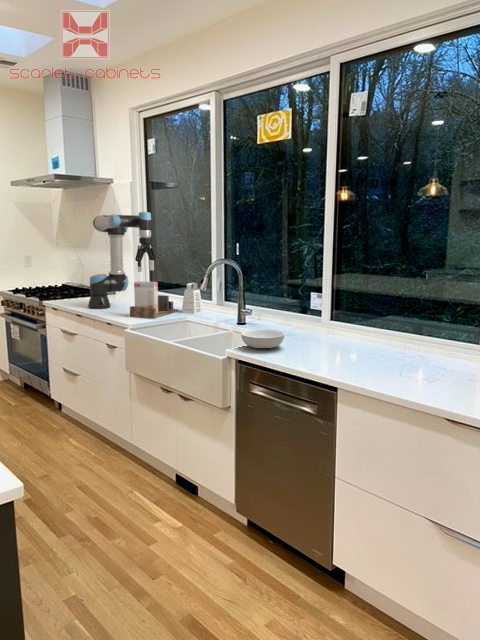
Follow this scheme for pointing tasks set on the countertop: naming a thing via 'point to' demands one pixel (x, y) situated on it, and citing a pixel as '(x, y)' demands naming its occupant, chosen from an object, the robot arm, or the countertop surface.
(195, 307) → the grater
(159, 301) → the bookend
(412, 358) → the countertop surface
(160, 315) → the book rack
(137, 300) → the cracker box
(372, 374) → the countertop surface
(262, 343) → the serving bowl
